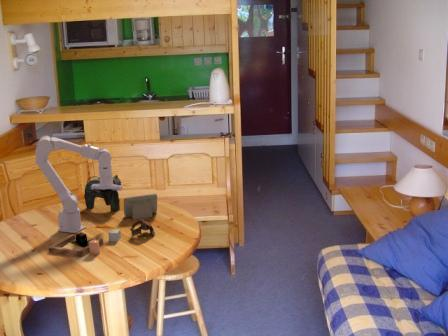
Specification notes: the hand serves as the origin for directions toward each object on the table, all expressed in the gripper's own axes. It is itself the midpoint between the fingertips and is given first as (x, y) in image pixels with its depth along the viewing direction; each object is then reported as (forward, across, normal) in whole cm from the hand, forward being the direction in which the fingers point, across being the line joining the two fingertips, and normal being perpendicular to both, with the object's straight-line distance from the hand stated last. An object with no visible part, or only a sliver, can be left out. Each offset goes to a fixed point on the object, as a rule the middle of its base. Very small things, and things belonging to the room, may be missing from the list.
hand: (108, 204), depth 253 cm
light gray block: (+10, +10, -16) cm, 21 cm away
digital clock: (+10, +9, +15) cm, 20 cm away
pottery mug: (+10, +20, -8) cm, 24 cm away
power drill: (+10, -14, +20) cm, 26 cm away
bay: (+10, -2, -26) cm, 28 cm away
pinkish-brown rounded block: (+10, +9, -30) cm, 33 cm away
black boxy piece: (+11, -2, -22) cm, 24 cm away
